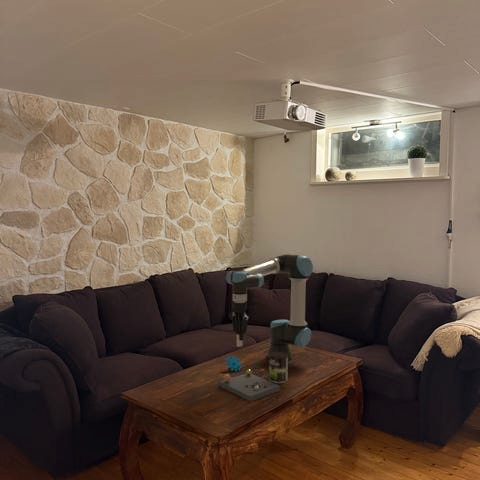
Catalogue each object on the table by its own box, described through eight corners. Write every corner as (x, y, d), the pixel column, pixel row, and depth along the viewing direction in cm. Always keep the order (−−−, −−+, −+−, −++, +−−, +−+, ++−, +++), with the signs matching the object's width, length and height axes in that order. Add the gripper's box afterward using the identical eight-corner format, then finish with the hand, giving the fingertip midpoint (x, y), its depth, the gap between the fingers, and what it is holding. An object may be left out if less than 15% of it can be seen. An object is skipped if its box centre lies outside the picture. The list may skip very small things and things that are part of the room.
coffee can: (280, 384, 234) (280, 358, 233) (264, 379, 241) (265, 354, 240) (291, 379, 242) (292, 354, 241) (276, 374, 249) (277, 349, 248)
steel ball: (258, 383, 226) (261, 388, 224) (256, 387, 228) (259, 392, 226) (253, 385, 224) (257, 390, 222) (251, 389, 226) (255, 394, 224)
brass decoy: (249, 373, 243) (249, 368, 243) (253, 375, 241) (253, 369, 241) (244, 375, 241) (244, 369, 241) (248, 376, 239) (248, 370, 238)
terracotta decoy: (227, 380, 234) (227, 372, 234) (232, 382, 231) (232, 374, 231) (221, 381, 232) (221, 374, 231) (226, 384, 228) (226, 376, 228)
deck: (219, 386, 232) (219, 381, 232) (248, 377, 245) (248, 372, 245) (250, 401, 214) (250, 396, 214) (279, 390, 227) (279, 385, 227)
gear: (228, 371, 250) (224, 354, 256) (224, 375, 253) (220, 359, 260) (245, 370, 255) (241, 354, 261) (241, 375, 259) (237, 359, 265)
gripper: (226, 300, 235) (226, 344, 237) (242, 304, 225) (242, 350, 227) (237, 298, 240) (237, 341, 242) (253, 302, 230) (253, 347, 232)
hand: (239, 345), depth 234 cm, fingers closed
